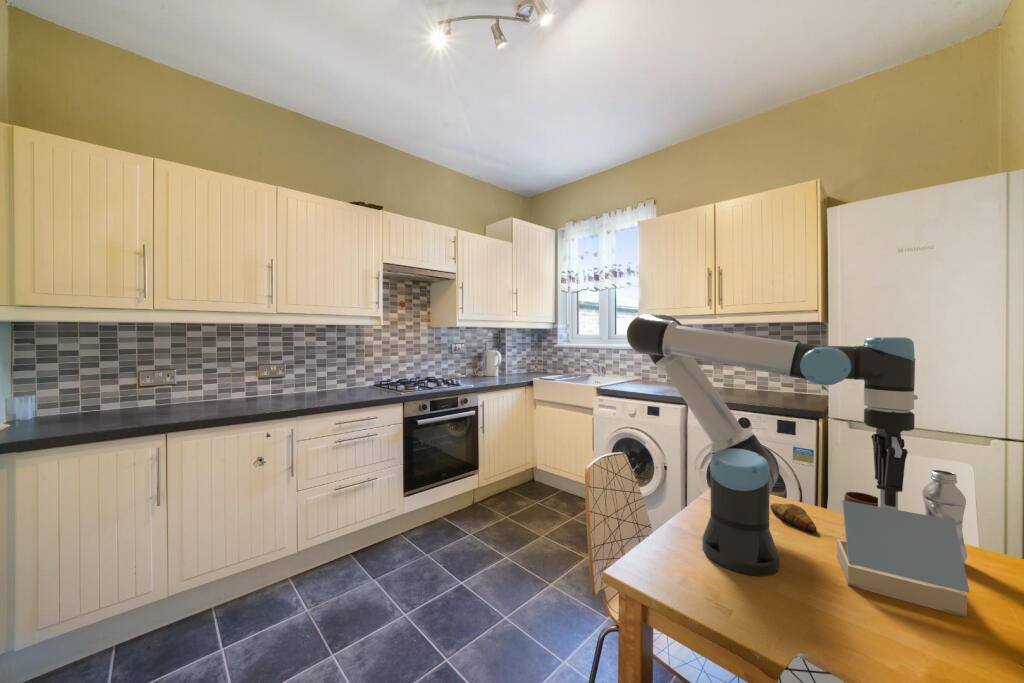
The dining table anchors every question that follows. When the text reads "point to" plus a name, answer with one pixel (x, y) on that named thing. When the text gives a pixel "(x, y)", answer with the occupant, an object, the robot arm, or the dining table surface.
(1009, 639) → the dining table surface
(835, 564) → the dining table surface
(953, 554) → the lid
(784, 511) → the croissant
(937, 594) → the base
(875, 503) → the mug
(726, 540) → the robot arm
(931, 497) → the plastic bottle
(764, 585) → the dining table surface
